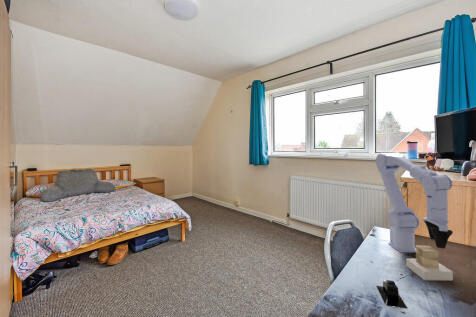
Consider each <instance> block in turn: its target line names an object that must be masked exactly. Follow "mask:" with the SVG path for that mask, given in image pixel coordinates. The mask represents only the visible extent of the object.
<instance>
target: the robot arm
mask: <svg viewBox="0 0 476 317" xmlns="http://www.w3.org/2000/svg"><path fill="white" fill-rule="evenodd" d="M375 163H376V164H375V165H376V167H377V170H378V172H379V173H380V176H381V179H382V182H383V185H384V188H385V191H386V193H387V196H388V200H389V202H390V205H391V209H390V210H389V211H388V212H387V215H388V221H389V222H388V223H389V224H390V226H391V227H390V229H389V241H388V242H387V243H388V244H389V246H392V247H393V248H394V249H396V250H397V251H399V252H400V253H416V244H415V243H416V239H415V235H416V234H415V231H417V229H418V228H419V226H420V219H419V217H418V216H417V215H416V213H415V211H414V210H413V209H412V208H410V207H408V206H407V204H406V201H405V199H404V196H403V193H402V191H401V188H400V186H399V183H398V181H397V178H396V175H395V173H396V172H397V171H399V169H400V168H401V169H403V170H406V171H407V172H409V175H410V177H411V178H413V179H415V180H416V181H418V182H419V183H421V186H422V188H423V190H424V194H425V195H426V216H425V217H424V216H423V217H422V220H423V222H424V223H425V225H426V227H427V231H428V236H429V238H430V240H433V241H434V242H435V247H436V248H438V249H446V247H447V244H448V241H449V238H450V237H451V236H452V235H453V230H451V229H448V225H449V218H448V217H449V216H448V213H449V211H448V191H449V190H450V189H452V188H453V181H452V179H451V178H450V177H449V176H448V175H446V174H439V173H437V172H436V171H432V170H431V169H429V168H427V167H426V165H424V164H417V165H416V164H415V163H414V162H412V161H410V159H408V158H406V157H405V155H404V154H403V153H401V152H389V153H385V152H384V153H383V152H380V153H377V155H376V157H375Z"/></svg>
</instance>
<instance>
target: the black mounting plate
mask: <svg viewBox="0 0 476 317" xmlns="http://www.w3.org/2000/svg"><path fill="white" fill-rule="evenodd" d="M376 289H377V291H378V293H379V294H380V297H381V299H382V302H383V303H384V305H385V306H387V307H392V306H395V307H394V308H399V307H400V308H399V309H409V308H408V306H407V305H406V303H405V302H404V300H403V299H402V297H401V295H400V293H399V287H398V285H397V284H396V283H395V281H394V280H389V279H383V280H382V285H381V286H380V285H376Z"/></svg>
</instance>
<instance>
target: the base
mask: <svg viewBox="0 0 476 317" xmlns="http://www.w3.org/2000/svg"><path fill="white" fill-rule="evenodd" d="M405 260H406V261H405V263H406V264H405V265H406V268H408V269H409V270H411V271H412V272H413V273H414V274H416V275H417V276H418V277H420V278H421V279H422V280H424V281H454V272H453V271H452V270H451V269H449V268H447V267H446V266H444V265H443V264H441V263H440V262H439V268H424V267H423V266H422V265H420V264H419V263H418V262H417V261H416V257H415V258H413V257H412V258H405Z"/></svg>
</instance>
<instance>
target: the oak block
mask: <svg viewBox="0 0 476 317" xmlns="http://www.w3.org/2000/svg"><path fill="white" fill-rule="evenodd" d="M415 248H416V252H415V258H416V261H417V262H418V263H419V264H420V265H422V266H423V267H424V268H439V263H440V262H439V260H440V257H439V251H438V250H437V249H435V248H434V247H432V246H431V245H417V244H415Z"/></svg>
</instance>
